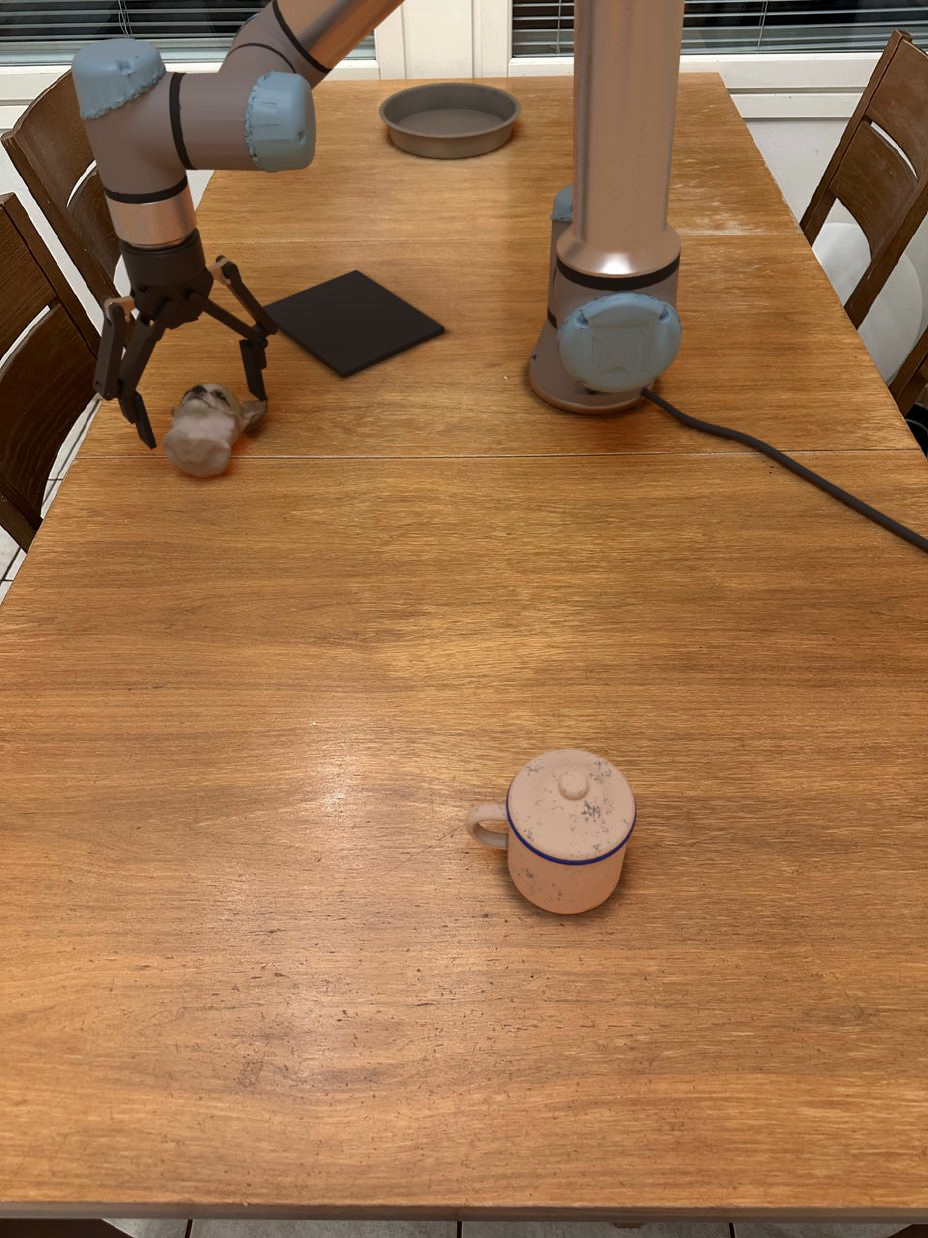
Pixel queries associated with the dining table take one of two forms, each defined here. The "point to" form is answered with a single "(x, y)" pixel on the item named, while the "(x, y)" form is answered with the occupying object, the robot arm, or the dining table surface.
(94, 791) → the dining table surface
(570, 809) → the teacup with lid
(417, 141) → the cake pan
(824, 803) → the dining table surface
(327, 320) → the desk pad
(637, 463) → the dining table surface
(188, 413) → the ceramic sculpture
